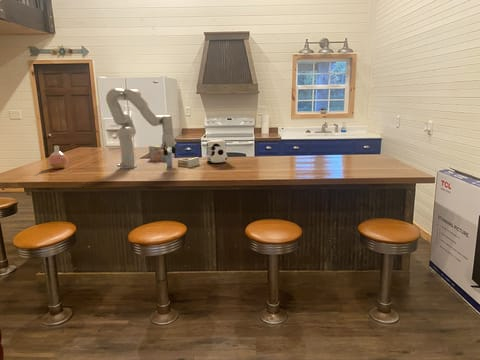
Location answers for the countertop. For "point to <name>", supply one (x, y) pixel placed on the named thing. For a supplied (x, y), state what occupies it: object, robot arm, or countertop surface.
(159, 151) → the stack of blocks
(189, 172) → the countertop surface
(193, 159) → the wall
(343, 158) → the countertop surface
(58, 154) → the vase
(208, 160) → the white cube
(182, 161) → the block
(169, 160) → the dowel
